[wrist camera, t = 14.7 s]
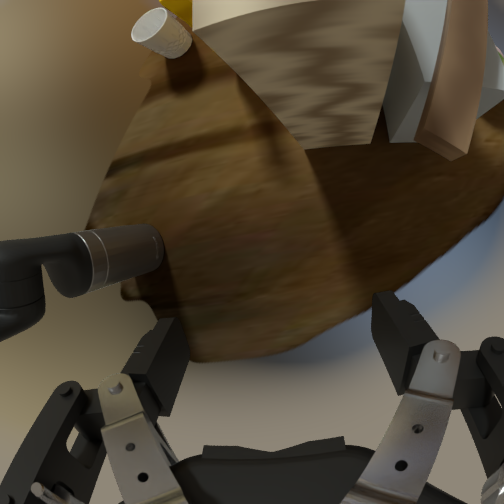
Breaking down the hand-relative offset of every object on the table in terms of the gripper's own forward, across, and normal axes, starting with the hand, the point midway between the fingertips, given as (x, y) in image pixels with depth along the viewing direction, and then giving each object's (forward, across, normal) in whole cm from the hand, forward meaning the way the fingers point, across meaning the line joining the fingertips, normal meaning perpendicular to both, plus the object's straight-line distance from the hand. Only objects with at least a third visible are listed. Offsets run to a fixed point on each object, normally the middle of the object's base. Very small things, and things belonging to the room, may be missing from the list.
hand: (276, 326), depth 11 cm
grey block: (+31, -23, -15) cm, 42 cm away
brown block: (+10, -19, -18) cm, 28 cm away
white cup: (+45, +13, -32) cm, 57 cm away
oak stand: (+34, -11, -15) cm, 39 cm away
